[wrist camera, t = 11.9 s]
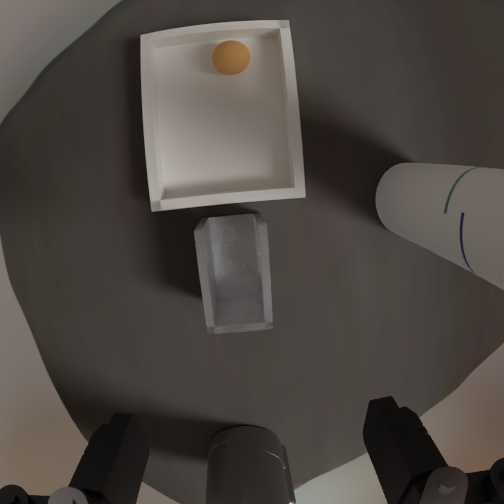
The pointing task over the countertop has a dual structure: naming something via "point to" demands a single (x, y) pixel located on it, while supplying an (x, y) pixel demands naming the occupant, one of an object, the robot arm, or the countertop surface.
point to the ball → (231, 57)
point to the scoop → (234, 272)
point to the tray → (220, 117)
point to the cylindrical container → (448, 213)
